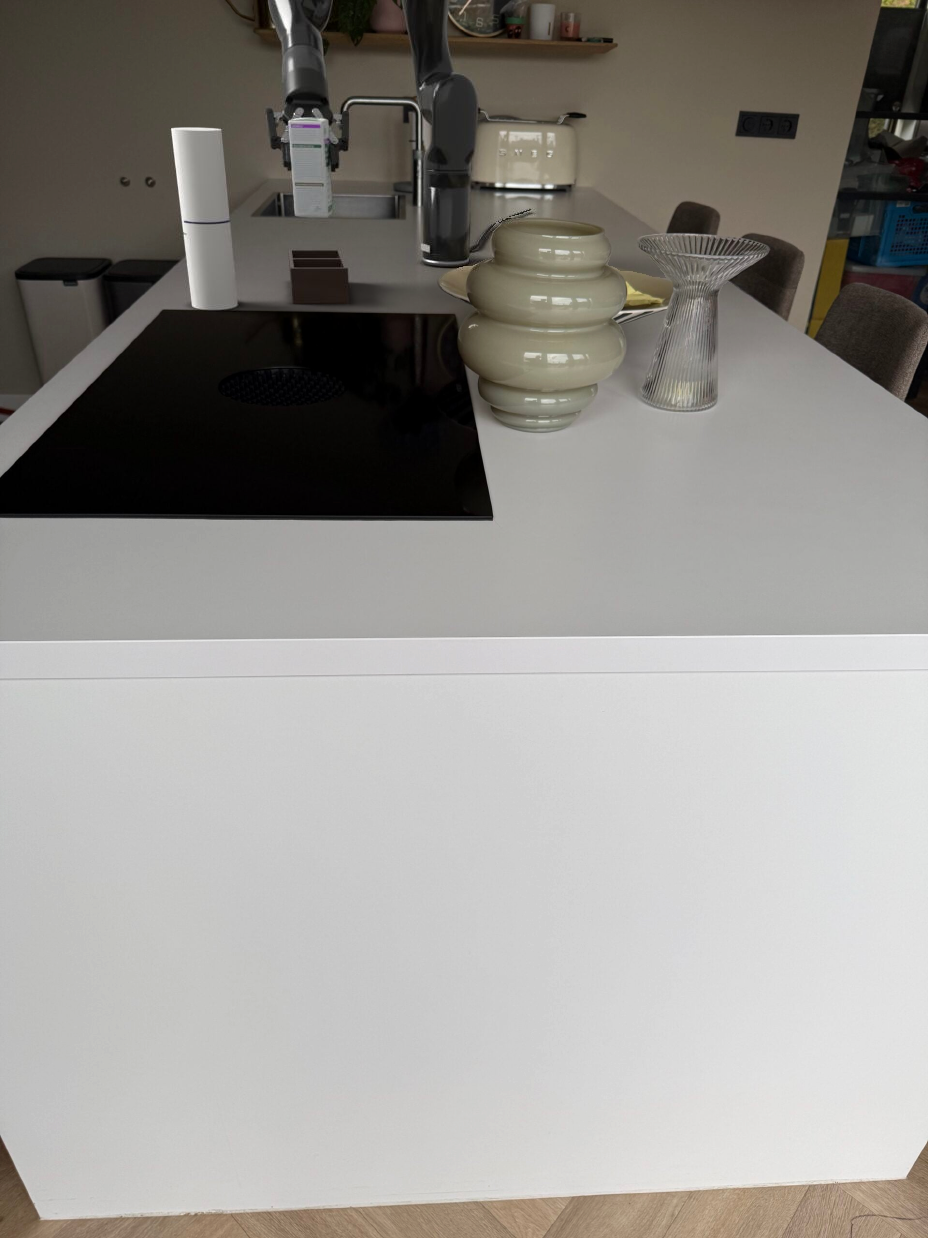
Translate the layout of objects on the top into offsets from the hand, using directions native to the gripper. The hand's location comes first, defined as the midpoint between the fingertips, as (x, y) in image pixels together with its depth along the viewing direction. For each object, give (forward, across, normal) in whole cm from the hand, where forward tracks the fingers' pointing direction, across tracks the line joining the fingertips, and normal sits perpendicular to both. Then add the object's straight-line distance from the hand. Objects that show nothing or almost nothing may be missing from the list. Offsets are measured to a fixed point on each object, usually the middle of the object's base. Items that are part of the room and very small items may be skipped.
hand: (311, 167), depth 150 cm
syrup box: (+4, 0, +6) cm, 8 cm away
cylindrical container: (+22, -17, +5) cm, 28 cm away
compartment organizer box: (+16, 0, +12) cm, 19 cm away
